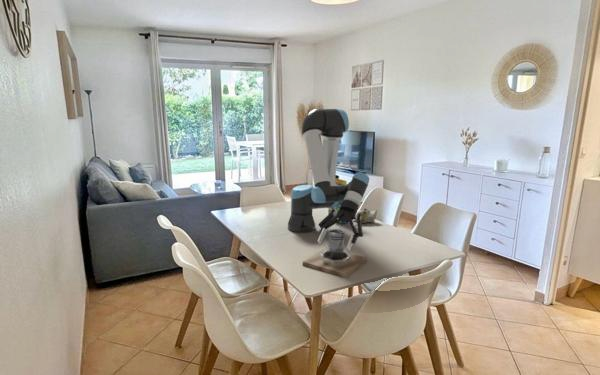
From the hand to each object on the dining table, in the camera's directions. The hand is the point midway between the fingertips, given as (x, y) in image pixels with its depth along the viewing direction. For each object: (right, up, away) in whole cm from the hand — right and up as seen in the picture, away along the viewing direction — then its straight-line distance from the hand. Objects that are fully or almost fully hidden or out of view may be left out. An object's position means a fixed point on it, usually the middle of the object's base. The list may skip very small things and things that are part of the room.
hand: (333, 246), depth 147 cm
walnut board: (+1, -8, +4) cm, 8 cm away
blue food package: (+9, +4, +63) cm, 63 cm away
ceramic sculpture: (+24, +4, +61) cm, 65 cm away
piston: (+1, -6, +3) cm, 7 cm away
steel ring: (+1, -6, +3) cm, 7 cm away
